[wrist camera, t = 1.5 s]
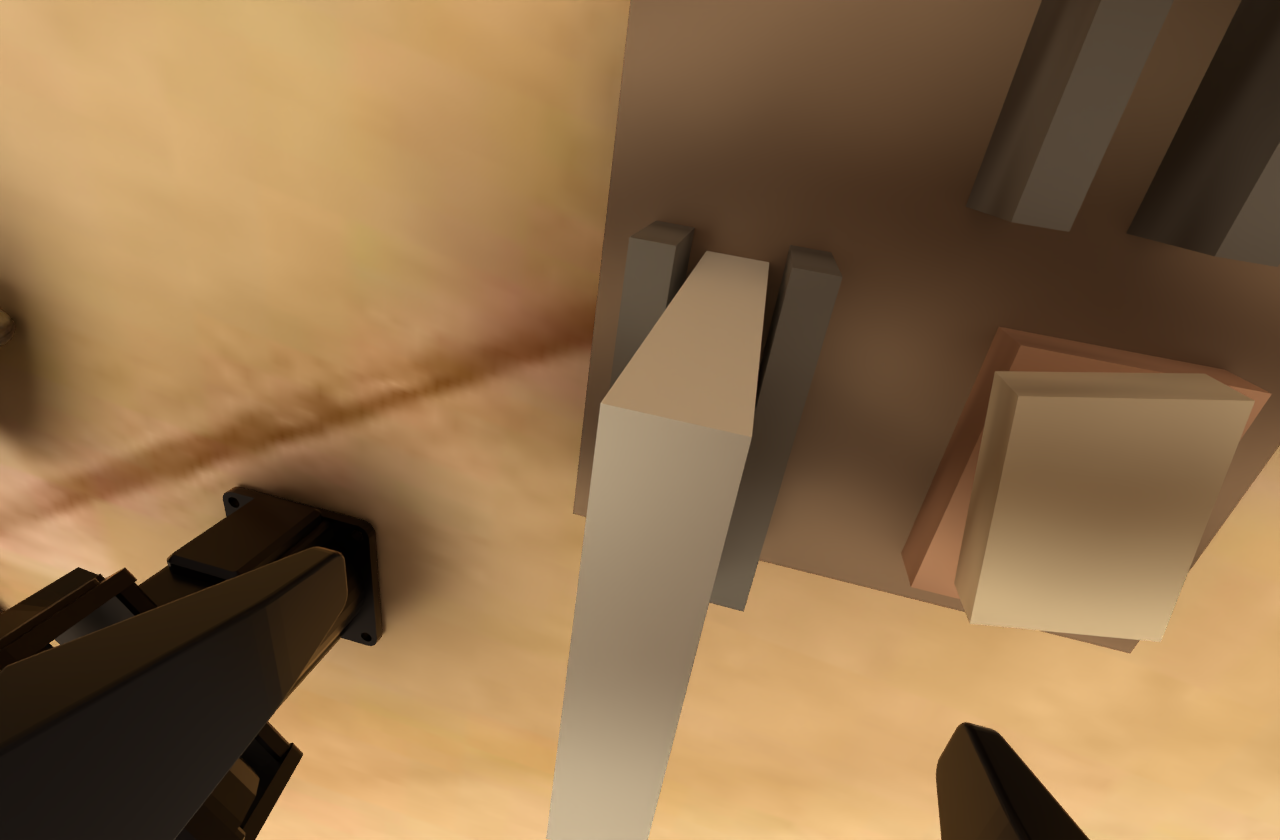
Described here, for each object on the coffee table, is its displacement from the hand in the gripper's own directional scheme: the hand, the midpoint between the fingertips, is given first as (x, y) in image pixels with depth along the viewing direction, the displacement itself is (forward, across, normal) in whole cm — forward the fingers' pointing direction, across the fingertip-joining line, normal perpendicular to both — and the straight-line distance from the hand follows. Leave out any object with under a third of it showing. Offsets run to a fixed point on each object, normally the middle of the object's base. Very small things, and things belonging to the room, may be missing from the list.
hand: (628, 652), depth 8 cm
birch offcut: (+8, -9, 0) cm, 12 cm away
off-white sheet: (+9, 0, 0) cm, 9 cm away
